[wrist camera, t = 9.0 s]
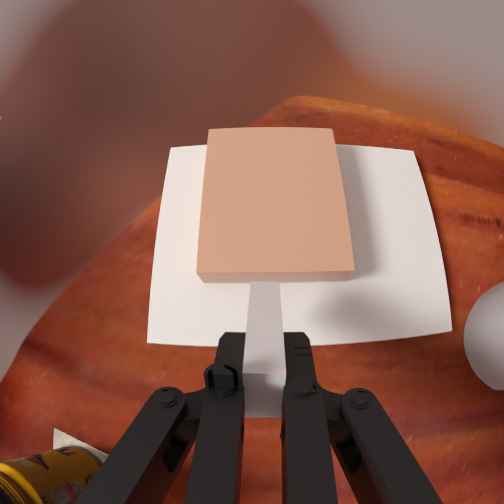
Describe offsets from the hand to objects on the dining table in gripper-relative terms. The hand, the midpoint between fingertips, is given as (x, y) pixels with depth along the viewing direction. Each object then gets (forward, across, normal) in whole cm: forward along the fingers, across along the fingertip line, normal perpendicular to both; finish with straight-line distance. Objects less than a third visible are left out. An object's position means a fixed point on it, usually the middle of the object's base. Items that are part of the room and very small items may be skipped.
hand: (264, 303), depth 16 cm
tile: (+4, +1, 0) cm, 4 cm away
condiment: (-6, -14, -15) cm, 22 cm away
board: (+9, +3, +1) cm, 9 cm away
